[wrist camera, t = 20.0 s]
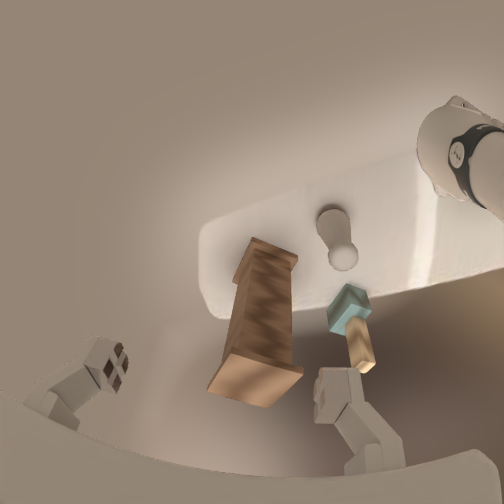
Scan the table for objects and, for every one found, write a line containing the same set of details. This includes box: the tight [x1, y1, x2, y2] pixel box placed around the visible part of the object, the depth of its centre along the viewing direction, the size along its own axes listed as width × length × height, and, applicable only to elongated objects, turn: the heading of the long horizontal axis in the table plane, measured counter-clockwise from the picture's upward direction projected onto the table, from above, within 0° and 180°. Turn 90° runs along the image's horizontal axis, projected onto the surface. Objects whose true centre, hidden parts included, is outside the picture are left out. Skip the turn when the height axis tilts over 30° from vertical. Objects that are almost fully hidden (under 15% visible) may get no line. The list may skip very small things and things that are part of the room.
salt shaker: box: [316, 209, 358, 271], centre depth 43 cm, size 6×6×13 cm
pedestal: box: [207, 237, 303, 408], centre depth 44 cm, size 9×10×26 cm
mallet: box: [327, 284, 375, 373], centre depth 51 cm, size 17×8×5 cm
